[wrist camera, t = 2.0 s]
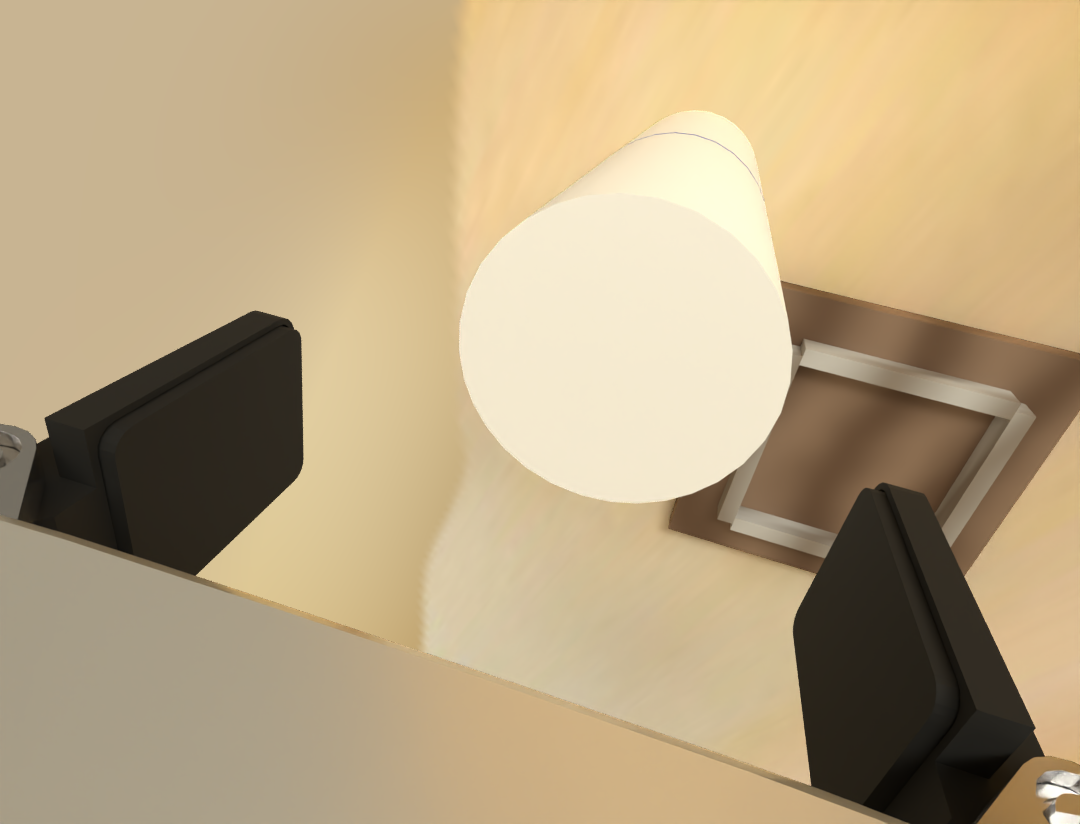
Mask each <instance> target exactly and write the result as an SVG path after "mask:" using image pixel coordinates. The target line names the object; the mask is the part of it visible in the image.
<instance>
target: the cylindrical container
mask: <svg viewBox="0 0 1080 824" xmlns="http://www.w3.org/2000/svg"><path fill="white" fill-rule="evenodd" d="M792 352H793V350H792V343H791V336H790V330H789V323H788V317H787V312H786V307H785V302H784V297H783V292H782V287H781V282H780V277H779V272H778V267H777V262H776V257H775V252H774V247H773V242H772V237H771V232H770V227H769V222H768V217H767V212H766V207H765V202H764V197H763V192H762V187H761V182H760V177H759V172H758V167H757V162H756V157H755V154H754V152H753V149H752V146H751V144H750V143H749V141H748V139H747V138H746V136H745V134H744V133H743V132H742V131H741V130H740V129H739V128H738V127H737V126H736V125H735V124H734V123H732V122H731V121H729V120H727V119H726V118H724V117H723V116H720V115H717V114H714V113H711V112H708V111H698V110H691V111H682V112H678V113H675V114H672V115H669V116H667V117H665V118H663V119H661V120H659V121H657V122H656V123H655V124H653V125H652V126H650V127H649V128H648V129H646V130H645V131H644V132H642V133H641V134H640V135H638V136H637V137H636V138H634V139H633V140H632V141H630V142H629V143H628V144H626V145H625V146H624V147H622V148H621V149H619V150H618V151H616V152H615V153H614V154H612V155H611V156H610V157H608V158H607V159H606V160H604V161H603V162H602V163H600V164H599V165H598V166H596V167H595V168H594V169H592V170H591V171H589V172H588V173H587V174H585V175H584V176H583V177H581V178H580V179H579V180H577V181H576V182H575V183H573V184H572V185H571V186H569V187H568V188H567V189H565V190H564V191H563V192H561V193H560V194H559V195H557V196H556V197H555V198H553V199H552V200H551V201H549V202H548V203H546V204H545V205H544V206H542V207H541V208H540V209H538V210H537V211H536V212H534V213H533V214H532V215H530V216H529V217H528V218H526V219H525V220H524V221H523V222H521V223H520V224H519V225H518V226H516V227H515V228H514V229H513V230H511V231H510V232H509V233H508V234H506V235H505V236H504V237H503V238H501V239H500V241H499V242H498V243H497V244H496V246H495V247H494V248H493V249H492V250H491V252H490V253H489V254H488V255H487V257H486V258H485V259H484V260H483V262H482V263H481V264H480V266H479V268H478V270H477V272H476V274H475V277H474V279H473V281H472V283H471V285H470V287H469V289H468V291H467V294H466V298H465V302H464V306H463V310H462V315H461V319H460V331H459V354H460V360H461V365H462V371H463V377H464V381H465V383H466V386H467V389H468V391H469V394H470V397H471V400H472V402H473V405H474V406H475V408H476V410H477V412H478V413H479V415H480V417H481V418H482V420H483V422H484V424H485V425H486V427H487V428H488V430H489V431H490V432H491V433H492V434H493V436H494V437H495V438H496V439H497V440H498V442H499V443H500V444H501V445H502V447H503V448H504V449H505V450H506V451H507V452H509V453H510V454H511V455H512V456H513V457H514V458H515V459H517V460H518V461H519V462H520V463H521V464H522V465H523V466H525V467H526V468H527V469H529V470H531V471H532V472H534V473H535V474H537V475H539V476H540V477H542V478H543V479H545V480H547V481H548V482H550V483H552V484H554V485H556V486H559V487H561V488H564V489H566V490H569V491H571V492H574V493H576V494H579V495H582V496H586V497H591V498H595V499H600V500H604V501H608V502H623V503H647V502H658V501H666V500H670V499H674V498H678V497H682V496H685V495H689V494H692V493H695V492H697V491H699V490H701V489H703V488H706V487H708V486H710V485H712V484H714V483H717V482H719V481H720V480H721V479H723V478H724V477H726V476H727V475H729V474H730V473H731V472H733V471H734V470H736V469H737V468H738V467H740V466H741V465H743V464H744V463H745V462H746V461H747V459H748V458H749V457H750V456H751V455H752V454H753V453H754V452H755V451H756V450H757V449H758V448H759V447H760V445H761V444H762V443H763V442H764V441H765V440H766V438H767V436H768V434H769V433H770V431H771V429H772V428H773V426H774V424H775V422H776V421H777V419H778V417H779V415H780V414H781V411H782V408H783V405H784V401H785V398H786V395H787V392H788V388H789V385H790V380H791V366H792Z"/></svg>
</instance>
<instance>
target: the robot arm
mask: <svg viewBox="0 0 1080 824" xmlns="http://www.w3.org/2000/svg"><path fill="white" fill-rule="evenodd" d="M301 358H302V356H301V336H300V334H299V332H298V331H297V330H294V327H293V325H292V323H291V322H290V321H289V320H288V319H285V318H281V317H278V316H274V315H271V314H267V313H263V312H259V311H252V312H250V313H248V314H246V315H244V316H242V317H240V318H238V319H236V320H234V321H232V322H231V323H228V324H226V325H224V326H222V327H220V328H219V329H216V330H215V331H213V332H211V333H209V334H207V335H205V336H203V337H201V338H199V339H197V340H195V341H193V342H191V343H189V344H187V345H185V346H183V347H181V348H180V349H178V350H176V351H174V352H172V353H170V354H168V355H166V356H164V357H162V358H160V359H158V360H156V361H154V362H152V363H150V364H148V365H146V366H145V367H143V368H141V369H139V370H137V371H135V372H133V373H131V374H129V375H127V376H125V377H123V378H121V379H119V380H117V381H116V382H113V383H112V384H109V385H108V386H106V387H104V388H102V389H100V390H98V391H96V392H94V393H92V394H90V395H88V396H86V397H84V398H82V399H81V400H78V401H76V402H75V403H72V404H71V405H69V406H67V407H65V408H63V409H61V410H59V411H57V412H55V413H53V414H51V415H49V416H48V417H45V422H46V426H47V430H48V433H49V438H47V439H45V440H43V441H41V442H40V443H38V444H37V443H36V439H35V438H34V437H33V436H32V435H31V434H30V433H29V432H28V431H26V430H23V429H21V428H18V427H16V426H10V425H4V424H0V824H1080V765H1079V764H1076V763H1074V762H1072V761H1068V760H1064V759H1060V758H1056V757H1052V756H1046V757H1045V756H1044V753H1043V751H1042V749H1041V747H1040V745H1039V743H1038V741H1037V738H1036V736H1035V734H1034V732H1033V731H1034V729H1035V726H1034V724H1033V722H1032V720H1031V717H1030V715H1029V713H1028V711H1027V709H1026V707H1025V705H1024V703H1023V700H1022V698H1021V696H1020V694H1019V692H1018V690H1017V688H1016V686H1015V684H1014V681H1013V679H1012V677H1011V675H1010V673H1009V671H1008V669H1007V667H1006V664H1005V662H1004V660H1003V658H1002V656H1001V654H1000V652H999V650H998V647H997V645H996V643H995V641H994V639H993V637H992V635H991V633H990V630H989V628H988V626H987V624H986V622H985V620H984V618H983V616H982V614H981V611H980V609H979V607H978V605H977V603H976V601H975V599H974V597H973V594H972V592H971V590H970V588H969V586H968V584H967V582H966V580H965V577H964V575H963V573H962V571H961V569H960V567H959V565H958V563H957V560H956V558H955V556H954V554H953V552H952V550H951V548H950V546H949V544H948V541H947V539H946V537H945V535H944V533H943V531H942V529H941V527H940V524H939V522H938V520H937V518H936V516H935V514H934V512H933V510H932V507H931V505H930V503H929V501H928V499H927V497H926V496H925V494H924V493H921V492H917V491H913V490H910V489H906V488H902V487H899V486H895V485H892V484H888V483H884V482H882V483H880V484H878V485H877V486H876V487H875V489H870V488H864V489H863V490H862V491H861V492H860V494H859V495H858V497H857V499H856V501H855V503H854V505H853V506H852V508H851V510H850V512H849V514H848V516H847V518H846V520H845V522H844V523H843V525H842V527H841V529H840V531H839V533H838V535H837V537H836V539H835V541H834V542H833V544H832V546H831V548H830V550H829V552H828V554H827V556H826V558H825V559H824V561H823V563H822V565H821V567H820V569H819V571H818V573H817V575H816V576H815V578H814V580H813V582H812V584H811V586H810V588H809V590H808V592H807V594H806V595H805V597H804V599H803V601H802V603H801V605H800V607H799V609H798V611H797V613H796V616H795V620H794V625H793V638H794V646H795V654H796V662H797V671H798V679H799V687H800V695H801V704H802V712H803V720H804V728H805V737H806V745H807V753H808V761H809V770H810V778H811V786H809V785H806V784H804V783H801V782H798V781H795V780H792V779H789V778H786V777H783V776H781V775H778V774H775V773H772V772H769V771H766V770H763V769H761V768H758V767H755V766H752V765H750V764H747V763H744V762H741V761H739V760H736V759H733V758H730V757H727V756H725V755H722V754H719V753H716V752H713V751H710V750H707V749H704V748H702V747H699V746H696V745H693V744H690V743H687V742H684V741H681V740H678V739H675V738H672V737H670V736H667V735H664V734H661V733H658V732H655V731H652V730H649V729H646V728H643V727H641V726H638V725H635V724H632V723H629V722H626V721H623V720H620V719H617V718H614V717H612V716H609V715H606V714H603V713H600V712H597V711H594V710H591V709H588V708H585V707H582V706H580V705H577V704H574V703H571V702H568V701H565V700H562V699H559V698H556V697H553V696H551V695H548V694H545V693H542V692H539V691H536V690H533V689H530V688H527V687H524V686H521V685H518V684H516V683H513V682H510V681H507V680H504V679H501V678H498V677H495V676H492V675H489V674H486V673H483V672H480V671H477V670H474V669H471V668H468V667H465V666H463V665H460V664H457V663H454V662H451V661H448V660H445V659H442V658H439V657H436V656H433V655H430V654H427V653H424V652H421V651H418V650H415V649H412V648H409V647H406V646H403V645H400V644H397V643H394V642H392V641H389V640H386V639H383V638H380V637H377V636H374V635H371V634H368V633H364V632H362V631H359V630H356V629H353V628H350V627H347V626H344V625H341V624H338V623H335V622H332V621H329V620H326V619H323V618H320V617H317V616H314V615H311V614H308V613H306V612H303V611H300V610H297V609H293V608H291V607H287V606H284V605H281V604H278V603H275V602H272V601H269V600H266V599H263V598H260V597H257V596H254V595H251V594H248V593H245V592H242V591H239V590H236V589H233V588H230V587H227V586H224V585H221V584H218V583H215V582H212V581H209V580H206V579H203V578H200V577H197V576H196V575H197V574H198V573H199V572H200V571H201V570H202V569H203V568H204V567H205V566H206V565H207V564H208V563H209V562H210V561H211V560H212V559H213V558H214V557H215V556H216V555H217V554H219V553H220V552H221V550H223V549H224V548H225V547H226V546H227V545H228V544H229V543H230V542H231V541H232V540H233V539H234V538H235V537H236V536H237V535H238V534H239V533H240V532H241V531H243V529H245V528H246V527H247V526H248V525H249V524H250V523H251V522H252V521H253V520H254V519H255V518H256V517H257V516H258V515H259V514H260V513H261V512H262V511H263V510H264V509H265V508H267V506H269V504H271V503H272V502H273V501H274V500H275V499H276V498H277V497H278V496H279V495H280V494H281V493H282V492H283V491H284V490H285V489H286V488H287V487H288V486H289V485H291V484H292V483H293V482H294V481H295V479H296V478H297V477H298V475H299V474H300V471H301V469H302V465H303V416H302V415H303V410H302V359H301Z"/></svg>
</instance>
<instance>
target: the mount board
mask: <svg viewBox="0 0 1080 824" xmlns="http://www.w3.org/2000/svg"><path fill="white" fill-rule="evenodd" d="M780 282H781V287H782V292H783V297H784V302H785V307H786V312H787V317H788V323H789V330H790V336H791V343H792V350H793V352H792V366H791V380H790V385H789V388H788V392H787V395H786V398H785V401H784V405H783V408H782V411H781V414H780V415H779V417H778V419H777V421H776V422H775V424H774V426H773V428H772V429H771V431H770V433H769V434H768V436H767V438H766V440H765V441H764V442H763V443H762V444H761V445H760V447H759V448H758V449H757V450H756V451H755V452H754V453H753V454H752V455H751V456H750V457H749V458H748V459H747V461H746V462H745V463H744V464H743V465H741V466H740V467H738V468H737V469H736V470H734V471H733V472H731V473H730V474H729V475H727V476H726V477H724V478H723V479H721V480H720V481H719V482H717V483H714V484H712V485H710V486H708V487H706V488H703V489H701V490H699V491H697V492H695V493H692V494H689V495H685V496H682V497H678V498H677V500H676V503H675V505H674V508H673V511H672V514H671V517H670V522H669V529H672V530H675V531H678V532H681V533H685V534H688V535H691V536H695V537H698V538H701V539H704V540H708V541H711V542H714V543H718V544H721V545H724V546H727V547H731V548H734V549H737V550H741V551H744V552H747V553H750V554H754V555H757V556H760V557H764V558H767V559H770V560H773V561H777V562H780V563H783V564H787V565H790V566H793V567H797V568H800V569H803V570H806V571H810V572H813V573H816V574H817V573H818V571H819V569H820V567H821V565H822V563H823V561H824V559H825V558H826V556H827V554H828V552H829V550H830V548H831V546H832V544H833V542H834V541H835V539H836V537H837V535H838V533H839V531H840V529H841V527H842V525H843V523H844V522H845V520H846V518H847V516H848V514H849V512H850V510H851V508H852V506H853V505H854V503H855V501H856V499H857V497H858V495H859V494H860V492H861V491H862V490H863V489H864V488H870V489H875V487H876V486H877V485H878V484H880V483H882V482H884V483H888V484H892V485H895V486H899V487H902V488H906V489H910V490H913V491H917V492H921V493H924V494H925V496H926V497H927V499H928V501H929V503H930V505H931V507H932V510H933V512H934V514H935V516H936V518H937V520H938V522H939V524H940V527H941V529H942V531H943V533H944V535H945V537H946V539H947V541H948V544H949V546H950V548H951V550H952V552H953V554H954V556H955V558H956V560H957V563H958V565H959V567H960V569H961V571H962V573H963V575H964V576H965V574H966V573H967V571H968V570H969V569H970V567H971V566H972V564H973V563H974V561H975V560H976V559H977V557H978V556H979V554H980V553H981V551H982V550H983V549H984V547H985V546H986V544H987V543H988V541H989V540H990V538H991V537H992V536H993V534H994V533H995V531H996V530H997V528H998V527H999V526H1000V524H1001V523H1002V521H1003V520H1004V518H1005V517H1006V516H1007V514H1008V513H1009V511H1010V510H1011V508H1012V507H1013V505H1014V504H1015V503H1016V501H1017V500H1018V498H1019V497H1020V495H1021V494H1022V493H1023V491H1024V490H1025V488H1026V487H1027V485H1028V484H1029V483H1030V481H1031V480H1032V478H1033V477H1034V475H1035V474H1036V473H1037V471H1038V470H1039V468H1040V467H1041V465H1042V464H1043V462H1044V461H1045V460H1046V458H1047V457H1048V455H1049V454H1050V452H1051V451H1052V450H1053V448H1054V447H1055V445H1056V444H1057V442H1058V441H1059V440H1060V438H1061V437H1062V435H1063V434H1064V432H1065V431H1066V429H1067V428H1068V427H1069V425H1070V424H1071V422H1072V421H1073V419H1074V418H1075V417H1076V415H1077V414H1078V412H1079V411H1080V353H1075V352H1071V351H1067V350H1063V349H1059V348H1055V347H1051V346H1047V345H1042V344H1038V343H1034V342H1030V341H1026V340H1022V339H1018V338H1014V337H1009V336H1005V335H1001V334H997V333H993V332H989V331H985V330H981V329H976V328H972V327H968V326H964V325H960V324H956V323H952V322H948V321H944V320H939V319H935V318H931V317H927V316H923V315H919V314H915V313H911V312H906V311H902V310H898V309H894V308H890V307H886V306H882V305H878V304H873V303H869V302H865V301H861V300H857V299H853V298H849V297H845V296H840V295H836V294H832V293H828V292H824V291H820V290H816V289H812V288H807V287H803V286H799V285H795V284H791V283H787V282H783V281H780Z"/></svg>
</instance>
